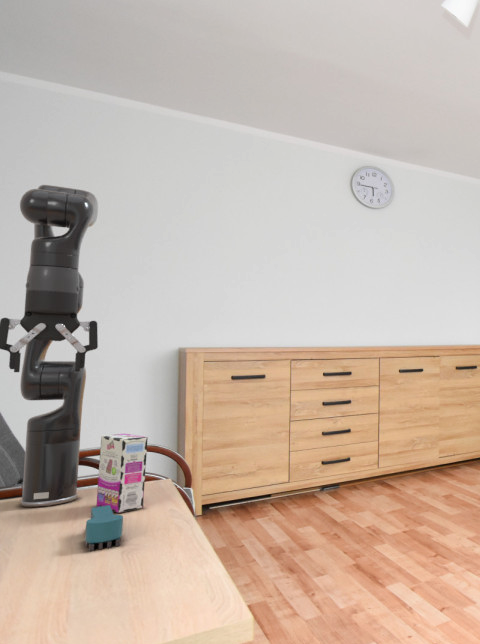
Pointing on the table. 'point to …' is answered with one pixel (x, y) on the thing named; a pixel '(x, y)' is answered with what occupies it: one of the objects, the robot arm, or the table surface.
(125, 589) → the table surface
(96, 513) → the teal mallet
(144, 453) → the candy bar box
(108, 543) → the fork
